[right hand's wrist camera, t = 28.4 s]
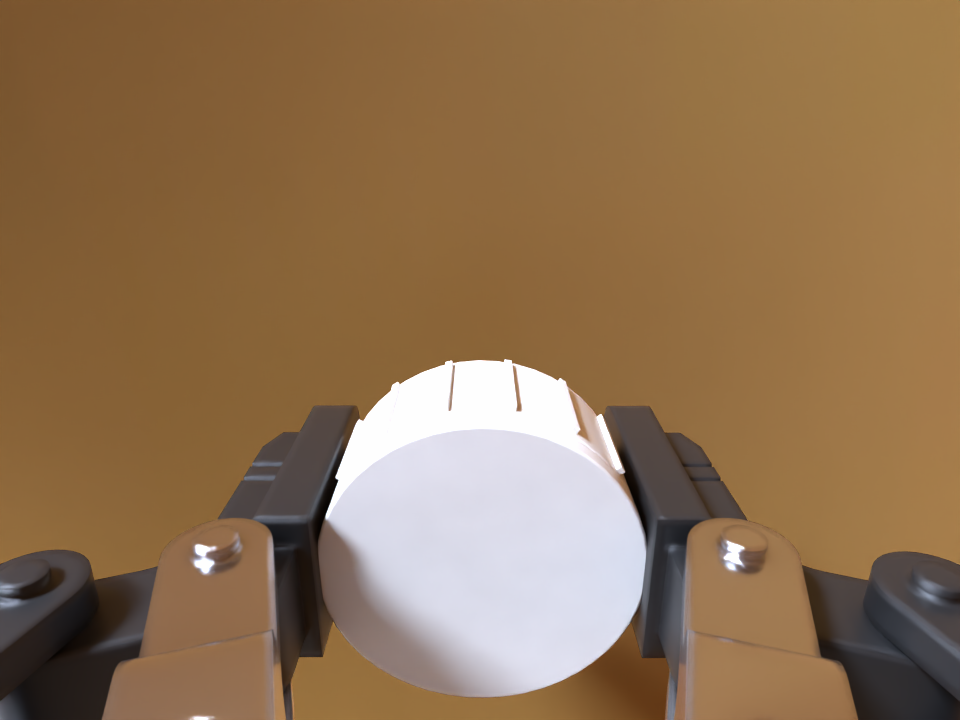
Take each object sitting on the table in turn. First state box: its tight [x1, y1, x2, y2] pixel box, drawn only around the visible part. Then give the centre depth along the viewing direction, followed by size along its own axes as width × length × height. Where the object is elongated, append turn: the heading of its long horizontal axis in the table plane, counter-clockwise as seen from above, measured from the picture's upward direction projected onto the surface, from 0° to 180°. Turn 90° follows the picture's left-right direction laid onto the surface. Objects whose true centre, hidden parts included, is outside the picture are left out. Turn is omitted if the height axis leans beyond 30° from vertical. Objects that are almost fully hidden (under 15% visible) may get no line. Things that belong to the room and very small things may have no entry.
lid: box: [318, 360, 647, 698], centre depth 10 cm, size 4×4×2 cm
